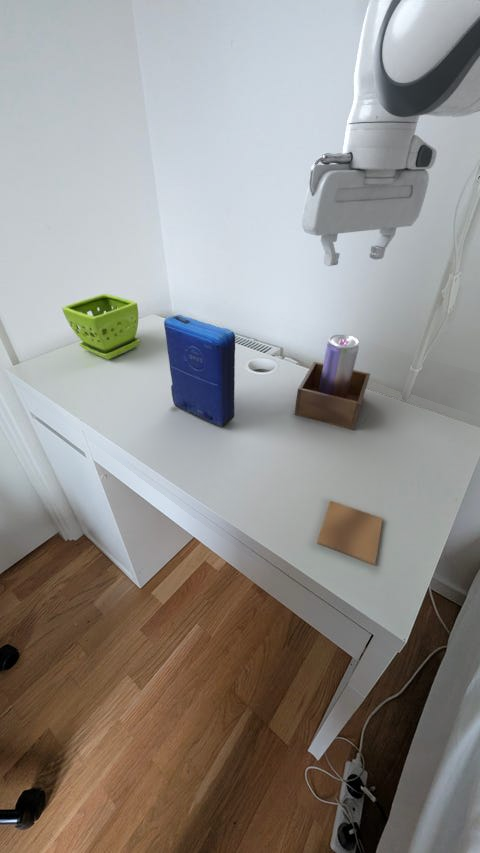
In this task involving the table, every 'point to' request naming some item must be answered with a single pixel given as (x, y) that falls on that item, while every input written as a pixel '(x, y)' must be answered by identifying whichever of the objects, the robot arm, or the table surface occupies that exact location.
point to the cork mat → (351, 532)
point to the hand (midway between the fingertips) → (353, 261)
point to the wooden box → (330, 399)
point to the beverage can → (338, 365)
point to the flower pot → (104, 324)
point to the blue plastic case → (201, 368)
